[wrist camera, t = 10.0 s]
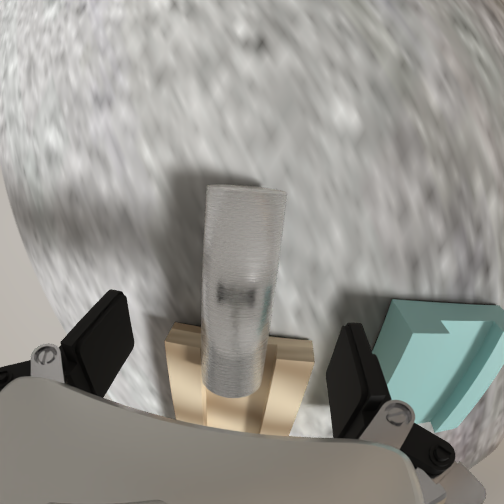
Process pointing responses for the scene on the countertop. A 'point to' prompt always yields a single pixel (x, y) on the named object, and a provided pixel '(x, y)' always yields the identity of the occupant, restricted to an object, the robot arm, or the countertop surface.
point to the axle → (238, 284)
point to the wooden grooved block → (245, 408)
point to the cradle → (440, 357)
